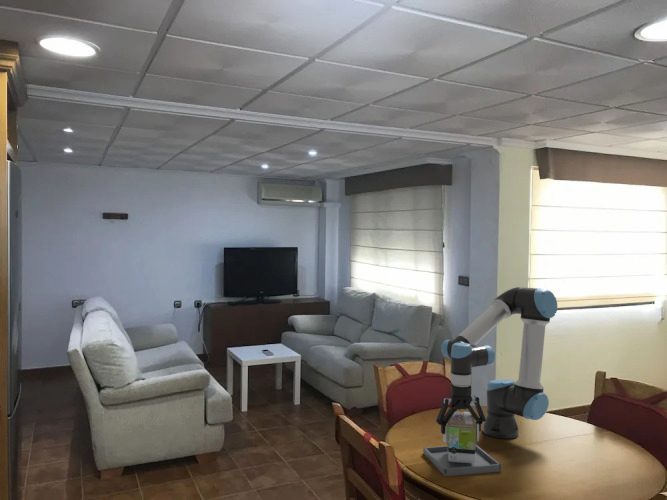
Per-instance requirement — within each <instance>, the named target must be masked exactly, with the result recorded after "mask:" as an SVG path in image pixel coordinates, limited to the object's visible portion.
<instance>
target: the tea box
mask: <svg viewBox="0 0 667 500" xmlns="http://www.w3.org/2000/svg"><path fill="white" fill-rule="evenodd" d="M475 422H476V420H475V419H474V416H472V415H471V413H470V412H469V411H460V410H457V411H456V412H454V414H453V415H452V417H451V418H450V419H449V421H448V423H447V424H446V425H447V426H448V443H447V444H446V446H448V461H452V462H464V463H475V444H476V440H475V434H476V424H475Z"/></svg>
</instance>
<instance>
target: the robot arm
mask: <svg viewBox="0 0 667 500" xmlns="http://www.w3.org/2000/svg"><path fill="white" fill-rule="evenodd" d="M557 312H558V301H557V298H556V296H555V295H554V293H553V292H552V291H551V290H548V289H545V288H535V287H523V286H517V287H512V288H510V289H508V290H505V291H504V292H502V293H501V294H499V295H498V296H497V297H496V298H494V299H493V300H492V301H491V304H490V306H489V307H488V308H487V309H486V310H485V311H484V312H483V313H481V314H480V315H479V316H477V318H476V319H474V321H472V322H471V323H470V325H468V326H467V327H466V328H465V329H464V330H463V331H462V332H460V333H459V334H458V335H457V336H456V337H454V338H453V339H446V340H444V341H443V342H442V344H441V347H440V351H441V354H442V356H443V357H445V358H447V359H450V360H451V361H450V364H451V366H450V367H451V370H450V371H451V372H450V377H451V379H450V381H451V382H450V383H451V385H450V395H451V396H450V398H447V397H443V398H442V405H441V407H440V411H439V413H438V415H437V418H436V420H435V422H436V423H437V424H438V425H439V426H440V433H441V434H442V442H443V443H445V444H446V445H447V443H448V426H447V425H448V421H449V419H450V418H451V417H452V415H453V414H454V412H456V411H460V410H467V412H470V413H471V415H472V416H474V420H475V424H476V434H475V442H479V441H480V432H481V431H482V432H483V434H485V435H487V436H488V437H492V438H496V439H505V440H506V439H513V438H514V439H515V438H517V437H518V436H519V433H520V430H519V426H518V424H517V420H516V417H515V416H518V417H519V416H520V418H521V417H522V418H524V419H526V420H533V421H538V420H541V419H542V418H543V417H544V415H546V413H547V411H548V409H549V404H550V402H549V401H550V400H549V398H548V395H547V394H546V393H544V386H543V385H542V383H541V377H542V369H543V366H542V365H543V355H544V345H545V337H546V335H545V333H546V326H547V325H548V324H549V323H550V321H551V319H552V318H554V317H555V316H556V313H557ZM515 314H517V315H518V314H519V315H520V320H521V321H522V322H523V328H522V339H521V340H522V341H521V350H520V351H521V352H520V361H519V362H520V363H519V370H518V371H519V372H518V379H517V380H512V379H500V378H499V379H494V380H493V379H492V380H489V381H488V382H487V384H486V385H487V386H486V415H485V413H484V411H483V408H482V407H481V404H480V398H479V397H478V396H477V395H473V396H472V368H477V367H483V366H488V365H491V364H493V363H494V361H495V360H496V359H495V358H496V354H495V351H494V348H493V347H492V346H490V345H484V344H482V345H478V343H480V341H482V340H483V339H484V338H485V337H486V336H487V335H488V334H489V333H490V332H492V330H493V329H494V328H495V327H497V326H498V325H499V324H500V323H501V322H502V321H503V320H504V319H508V318H510V317H511V316H512V315H515ZM472 402H473V405H474V406H475V409H476V411H475V409H473V407H472V405H471V403H472ZM450 403H451V404H450ZM449 405H450V406H449ZM448 408H449V409H448ZM476 412H477V413H476ZM477 414H478V415H477ZM482 424H483V425H482Z"/></svg>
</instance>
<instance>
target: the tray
mask: <svg viewBox="0 0 667 500" xmlns="http://www.w3.org/2000/svg"><path fill="white" fill-rule="evenodd" d="M422 452H423V456H425V457H426V458H427V459H428V460H429V461H430V463H432V465H433V466H434V467H435V468H436V469H437V470H438V471H439V472H440V473H441V474H442V476H444V477H453V476H465V475H474V474H475V475H476V474H486V473H497V472H502V463H500V462H498V461H497V460H496V459H495V458H493V457H492V456H491V455H490V454H489V453H488V452H486V451H485V450H484V449H482V448H481V447H480V446H479V445H478V444H476V443H475V463H464V462H452V461H448V446H447V445H439V446H428V447H427V446H426V447H423V451H422Z"/></svg>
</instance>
